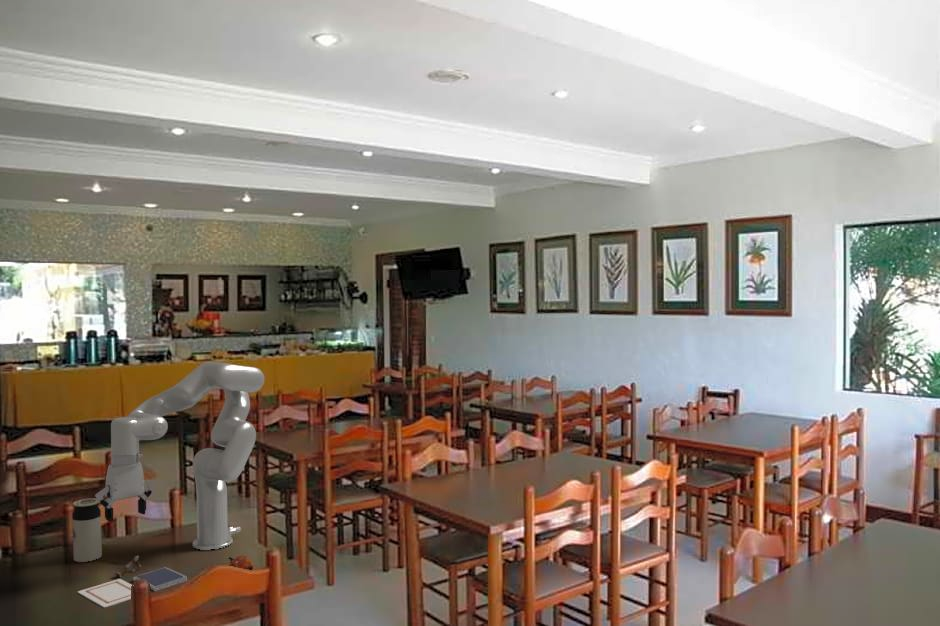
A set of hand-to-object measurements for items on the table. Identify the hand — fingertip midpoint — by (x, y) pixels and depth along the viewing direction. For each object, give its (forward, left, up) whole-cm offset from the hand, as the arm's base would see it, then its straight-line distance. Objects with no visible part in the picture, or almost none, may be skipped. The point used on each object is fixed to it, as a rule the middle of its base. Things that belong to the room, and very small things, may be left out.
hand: (125, 517), depth 232 cm
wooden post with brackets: (0, 0, -17) cm, 17 cm away
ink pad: (-3, +13, -17) cm, 22 cm away
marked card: (+10, +11, -17) cm, 22 cm away
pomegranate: (-18, +31, -17) cm, 40 cm away
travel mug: (+2, -22, -17) cm, 28 cm away
